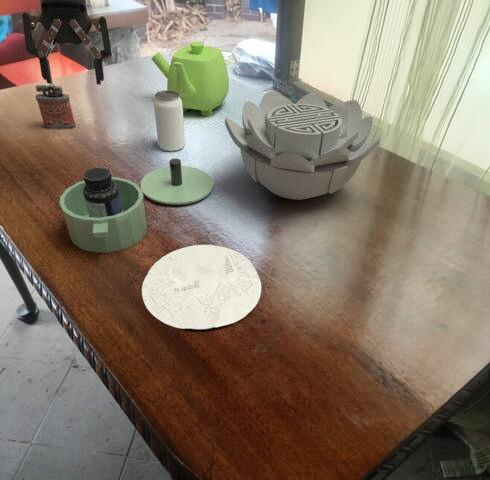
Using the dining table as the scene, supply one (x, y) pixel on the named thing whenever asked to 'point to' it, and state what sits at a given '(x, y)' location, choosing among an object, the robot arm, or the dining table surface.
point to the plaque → (201, 287)
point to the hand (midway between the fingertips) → (74, 83)
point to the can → (169, 120)
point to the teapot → (196, 76)
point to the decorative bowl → (302, 143)
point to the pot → (105, 219)
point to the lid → (176, 184)
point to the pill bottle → (101, 193)
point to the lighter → (55, 107)
